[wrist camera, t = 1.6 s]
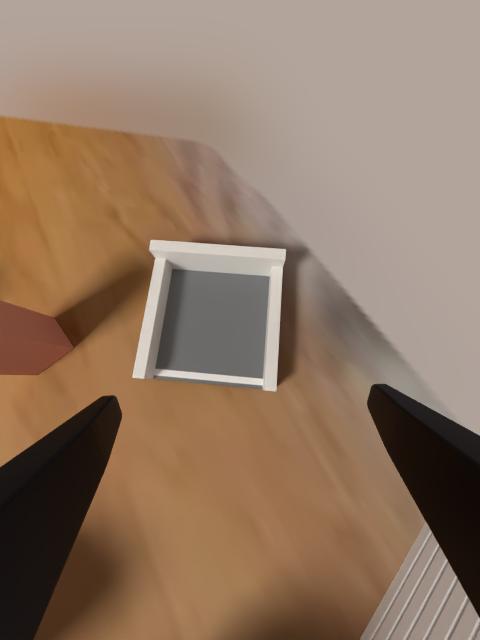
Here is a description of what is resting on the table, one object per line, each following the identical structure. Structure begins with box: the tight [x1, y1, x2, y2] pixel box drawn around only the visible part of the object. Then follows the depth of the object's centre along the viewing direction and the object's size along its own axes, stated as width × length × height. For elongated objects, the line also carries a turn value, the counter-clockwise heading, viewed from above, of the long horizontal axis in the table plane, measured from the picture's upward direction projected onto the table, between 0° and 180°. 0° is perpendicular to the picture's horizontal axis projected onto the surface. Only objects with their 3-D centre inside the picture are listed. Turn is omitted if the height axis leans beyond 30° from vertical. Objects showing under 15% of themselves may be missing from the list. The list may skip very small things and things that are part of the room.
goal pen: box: [132, 240, 286, 391], centre depth 21 cm, size 12×12×4 cm
